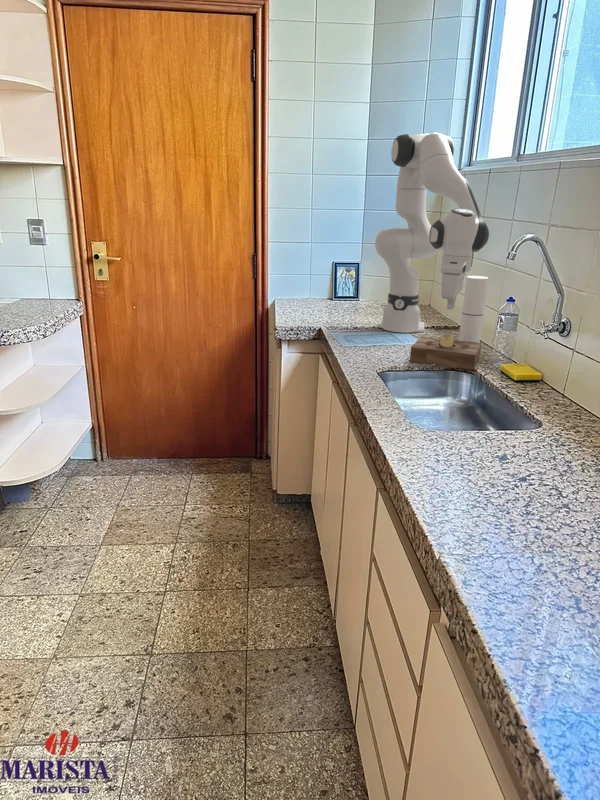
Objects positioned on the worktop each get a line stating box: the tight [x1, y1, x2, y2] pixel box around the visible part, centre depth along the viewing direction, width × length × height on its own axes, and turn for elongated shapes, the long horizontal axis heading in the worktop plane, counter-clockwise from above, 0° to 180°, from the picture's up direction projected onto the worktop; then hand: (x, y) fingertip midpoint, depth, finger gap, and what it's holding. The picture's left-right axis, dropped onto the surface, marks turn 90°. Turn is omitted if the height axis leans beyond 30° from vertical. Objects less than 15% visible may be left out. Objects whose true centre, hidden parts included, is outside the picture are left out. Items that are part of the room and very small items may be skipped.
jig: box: [409, 336, 482, 371], centre depth 181 cm, size 16×20×5 cm
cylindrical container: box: [458, 275, 489, 343], centre depth 192 cm, size 7×7×25 cm
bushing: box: [440, 334, 455, 347], centre depth 180 cm, size 4×4×8 cm
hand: (450, 308), depth 176 cm, fingers closed
